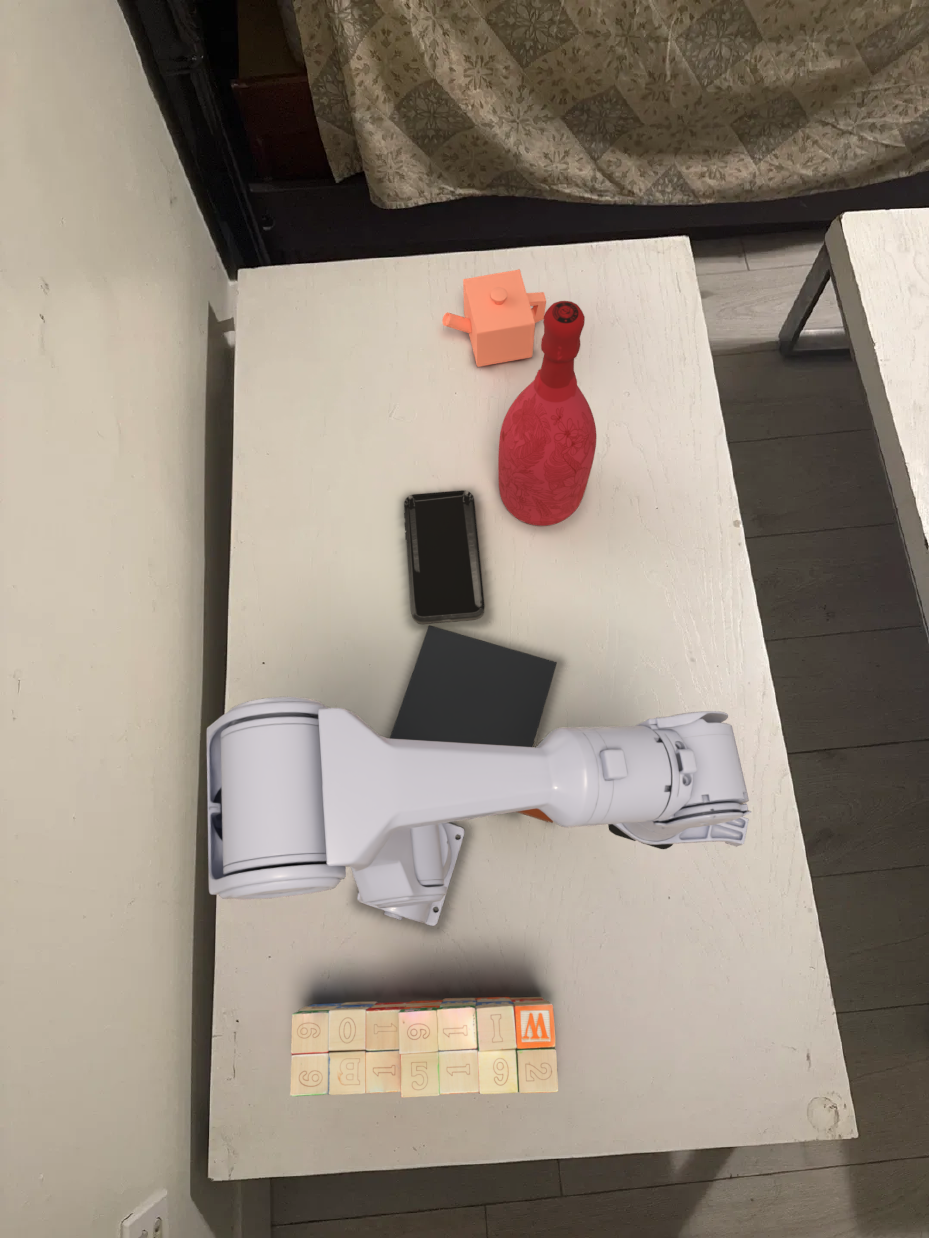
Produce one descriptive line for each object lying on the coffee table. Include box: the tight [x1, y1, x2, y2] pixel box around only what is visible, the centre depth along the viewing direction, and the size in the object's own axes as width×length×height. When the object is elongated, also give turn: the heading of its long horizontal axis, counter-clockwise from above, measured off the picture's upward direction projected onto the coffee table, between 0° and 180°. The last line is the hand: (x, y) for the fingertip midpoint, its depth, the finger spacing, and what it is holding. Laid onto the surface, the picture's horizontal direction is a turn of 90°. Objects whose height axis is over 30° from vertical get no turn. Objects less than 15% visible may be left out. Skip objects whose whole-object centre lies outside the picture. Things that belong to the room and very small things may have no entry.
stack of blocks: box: [289, 996, 559, 1099], centre depth 73 cm, size 21×6×12 cm, turn 92°
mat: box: [389, 624, 557, 747], centre depth 89 cm, size 16×14×1 cm
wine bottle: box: [497, 300, 597, 527], centre depth 84 cm, size 10×10×30 cm
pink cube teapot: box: [441, 268, 547, 368], centre depth 101 cm, size 8×12×8 cm, turn 101°
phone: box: [403, 489, 485, 625], centre depth 95 cm, size 8×1×15 cm
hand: (632, 818), depth 75 cm, fingers closed
